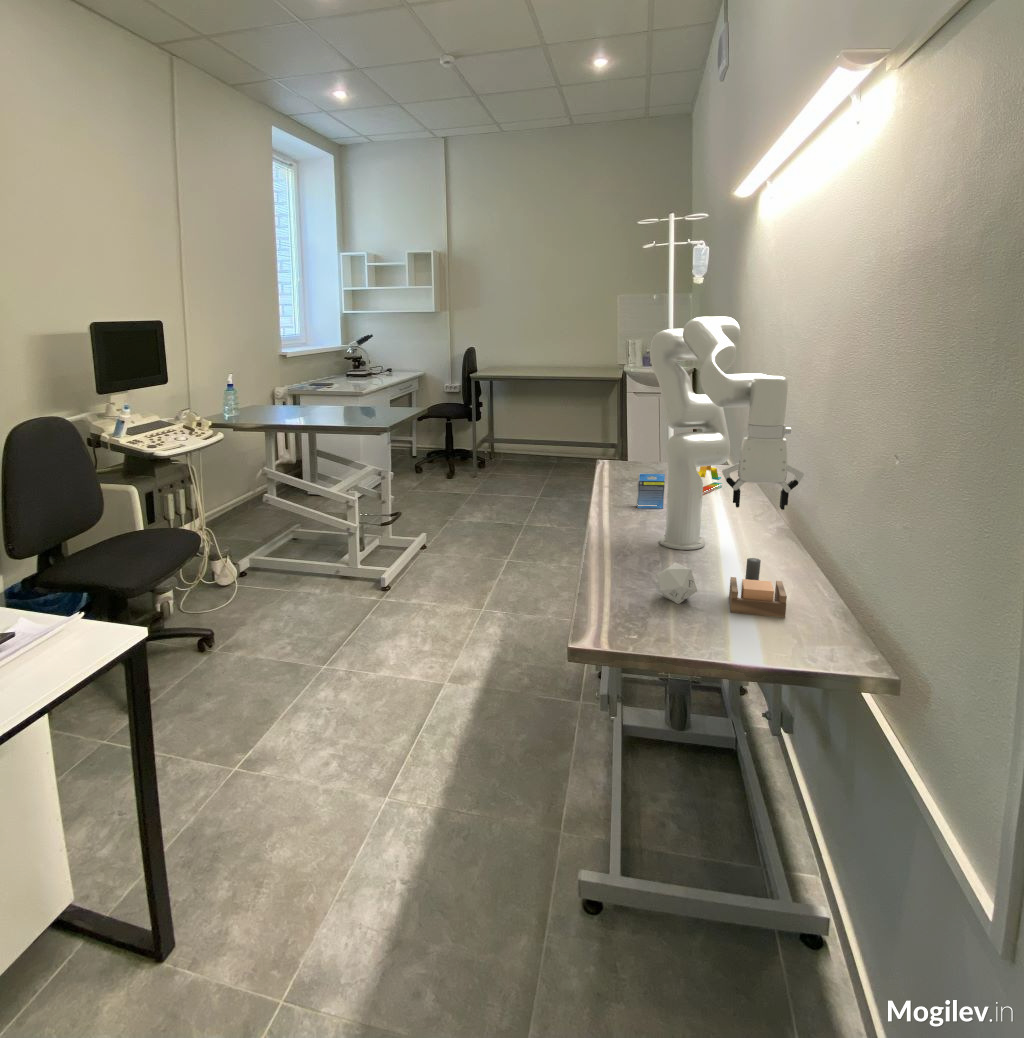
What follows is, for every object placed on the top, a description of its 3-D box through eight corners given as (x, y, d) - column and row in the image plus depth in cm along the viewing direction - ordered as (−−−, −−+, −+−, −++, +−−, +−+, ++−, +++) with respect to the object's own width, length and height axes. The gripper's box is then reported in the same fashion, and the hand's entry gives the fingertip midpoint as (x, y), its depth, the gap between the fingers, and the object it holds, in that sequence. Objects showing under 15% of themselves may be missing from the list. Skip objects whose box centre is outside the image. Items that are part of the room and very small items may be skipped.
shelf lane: (729, 595, 149) (730, 576, 147) (779, 600, 146) (781, 581, 145) (730, 612, 140) (732, 592, 138) (784, 617, 137) (787, 597, 136)
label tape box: (662, 506, 228) (663, 471, 225) (663, 509, 224) (665, 473, 221) (636, 505, 229) (637, 471, 226) (637, 508, 225) (638, 473, 222)
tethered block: (738, 580, 158) (740, 557, 156) (764, 582, 156) (766, 559, 154) (742, 610, 141) (744, 584, 139) (771, 613, 139) (774, 586, 137)
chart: (687, 503, 233) (689, 461, 229) (678, 501, 235) (681, 460, 231) (722, 488, 255) (724, 449, 251) (714, 487, 257) (716, 449, 253)
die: (657, 608, 144) (686, 580, 139) (642, 579, 150) (669, 551, 144) (683, 614, 148) (712, 587, 143) (668, 585, 154) (695, 558, 149)
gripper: (805, 431, 147) (797, 505, 151) (724, 429, 152) (719, 501, 156) (810, 435, 140) (802, 513, 144) (725, 434, 145) (720, 509, 149)
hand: (759, 507), depth 150 cm, fingers open, 9 cm apart
